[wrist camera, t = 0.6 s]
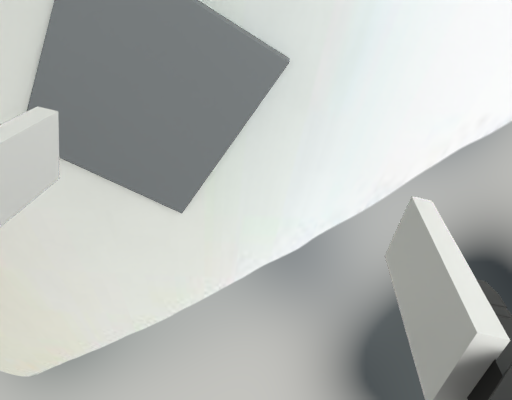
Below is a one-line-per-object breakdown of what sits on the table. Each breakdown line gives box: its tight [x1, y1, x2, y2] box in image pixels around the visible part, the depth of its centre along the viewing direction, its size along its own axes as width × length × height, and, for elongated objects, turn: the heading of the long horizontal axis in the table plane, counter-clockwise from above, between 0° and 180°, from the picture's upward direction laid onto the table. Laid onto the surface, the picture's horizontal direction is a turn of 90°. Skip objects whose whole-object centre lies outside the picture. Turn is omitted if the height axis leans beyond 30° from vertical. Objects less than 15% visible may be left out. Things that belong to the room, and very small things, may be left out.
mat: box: [27, 0, 289, 213], centre depth 43 cm, size 24×20×1 cm
